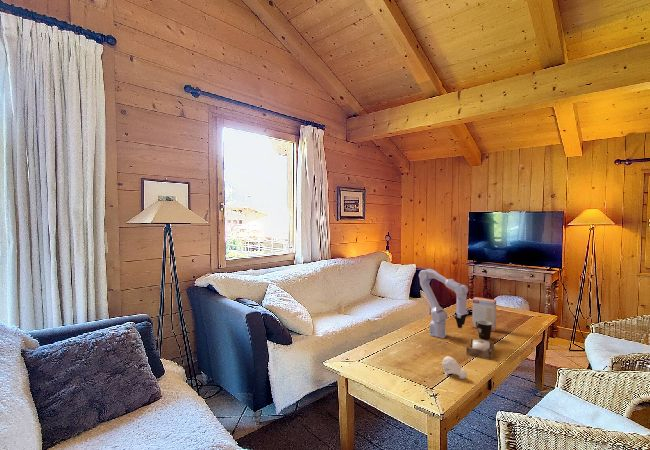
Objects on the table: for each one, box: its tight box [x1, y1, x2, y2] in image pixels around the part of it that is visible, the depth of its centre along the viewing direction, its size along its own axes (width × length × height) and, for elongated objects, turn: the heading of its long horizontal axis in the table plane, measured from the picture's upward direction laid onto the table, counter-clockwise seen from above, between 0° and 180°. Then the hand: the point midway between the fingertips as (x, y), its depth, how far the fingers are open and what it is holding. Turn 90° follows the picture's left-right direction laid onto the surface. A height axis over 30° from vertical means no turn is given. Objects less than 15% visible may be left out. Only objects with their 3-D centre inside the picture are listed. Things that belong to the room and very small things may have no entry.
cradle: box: [465, 338, 495, 360], centre depth 193 cm, size 13×15×5 cm
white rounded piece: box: [441, 355, 468, 380], centre depth 166 cm, size 6×8×12 cm
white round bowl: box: [471, 338, 490, 351], centre depth 193 cm, size 9×9×6 cm
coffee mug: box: [476, 321, 492, 341], centre depth 216 cm, size 12×9×10 cm
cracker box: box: [471, 296, 497, 333], centre depth 231 cm, size 14×6×21 cm, turn 49°
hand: (461, 326), depth 208 cm, fingers open, 7 cm apart
